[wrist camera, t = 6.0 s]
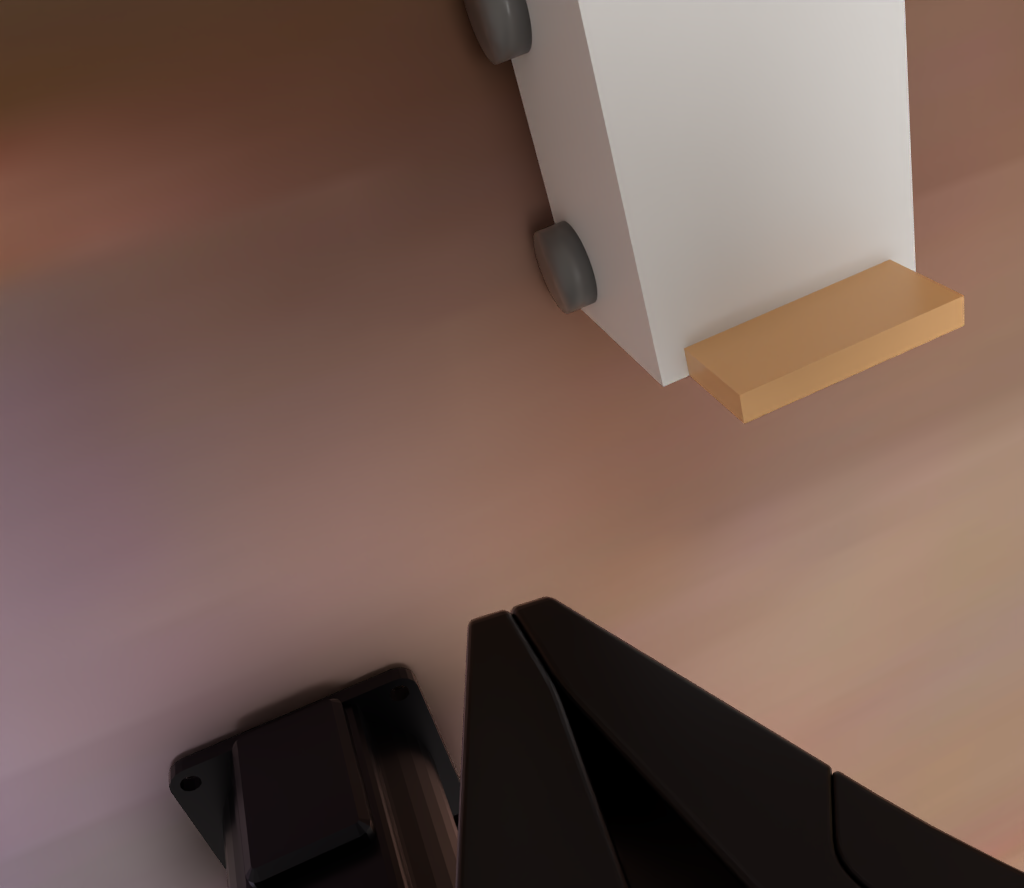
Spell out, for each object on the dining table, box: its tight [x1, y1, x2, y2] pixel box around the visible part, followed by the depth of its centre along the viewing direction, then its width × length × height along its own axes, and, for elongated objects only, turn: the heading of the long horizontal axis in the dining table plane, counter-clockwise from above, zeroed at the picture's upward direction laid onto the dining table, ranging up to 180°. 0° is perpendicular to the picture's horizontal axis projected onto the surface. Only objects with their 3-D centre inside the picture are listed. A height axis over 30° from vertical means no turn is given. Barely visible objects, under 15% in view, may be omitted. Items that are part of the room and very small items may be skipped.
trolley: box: [464, 0, 964, 424], centre depth 17 cm, size 8×7×6 cm
